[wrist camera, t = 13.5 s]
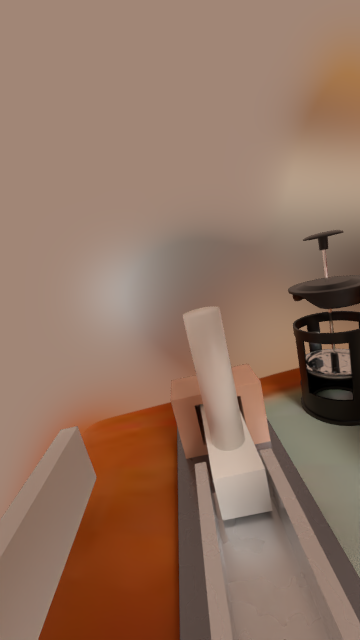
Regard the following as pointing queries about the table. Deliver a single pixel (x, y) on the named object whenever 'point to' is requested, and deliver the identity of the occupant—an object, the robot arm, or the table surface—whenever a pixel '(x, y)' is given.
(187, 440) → the socket block
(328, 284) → the french press
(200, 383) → the bar
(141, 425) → the table surface
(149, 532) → the table surface
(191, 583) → the slotted sleeve
